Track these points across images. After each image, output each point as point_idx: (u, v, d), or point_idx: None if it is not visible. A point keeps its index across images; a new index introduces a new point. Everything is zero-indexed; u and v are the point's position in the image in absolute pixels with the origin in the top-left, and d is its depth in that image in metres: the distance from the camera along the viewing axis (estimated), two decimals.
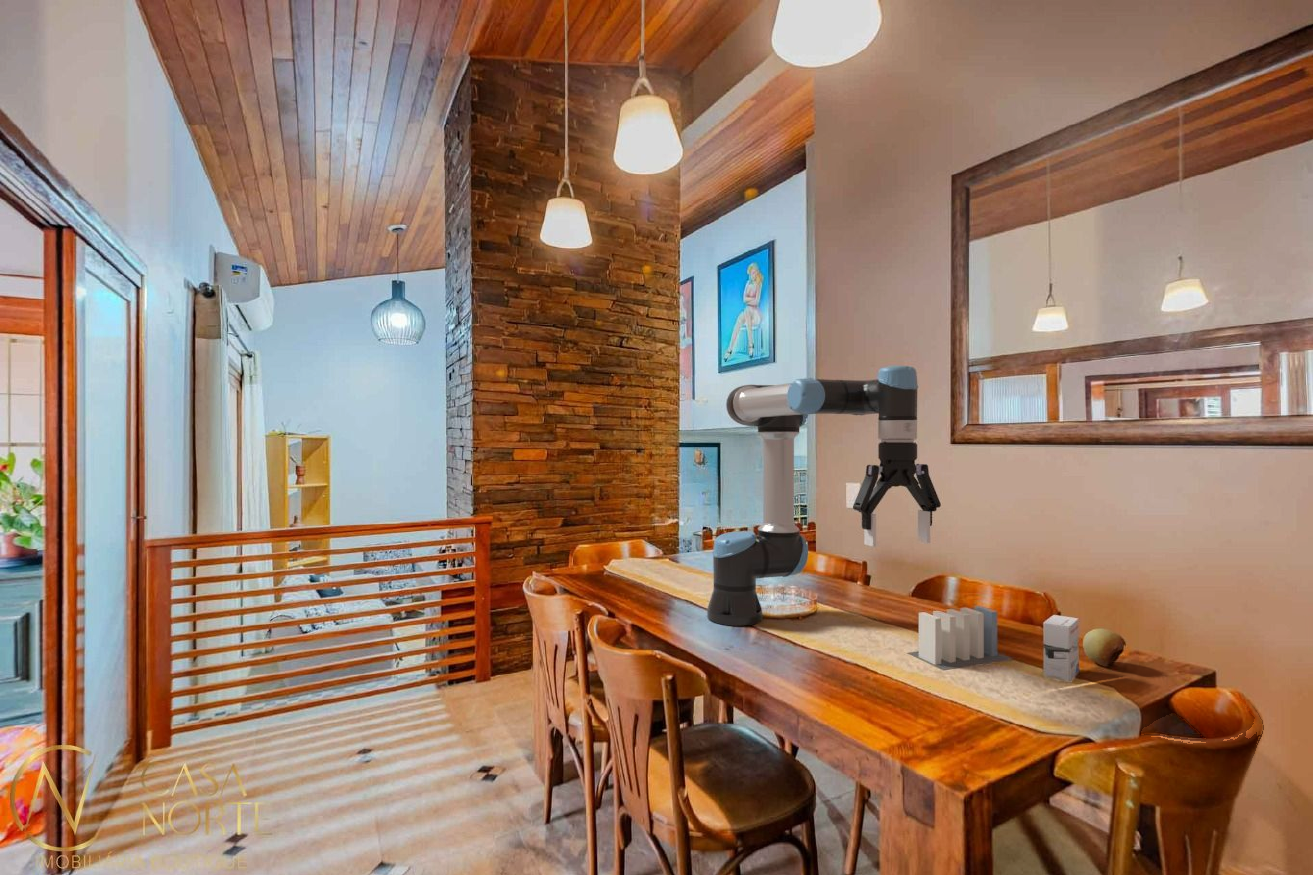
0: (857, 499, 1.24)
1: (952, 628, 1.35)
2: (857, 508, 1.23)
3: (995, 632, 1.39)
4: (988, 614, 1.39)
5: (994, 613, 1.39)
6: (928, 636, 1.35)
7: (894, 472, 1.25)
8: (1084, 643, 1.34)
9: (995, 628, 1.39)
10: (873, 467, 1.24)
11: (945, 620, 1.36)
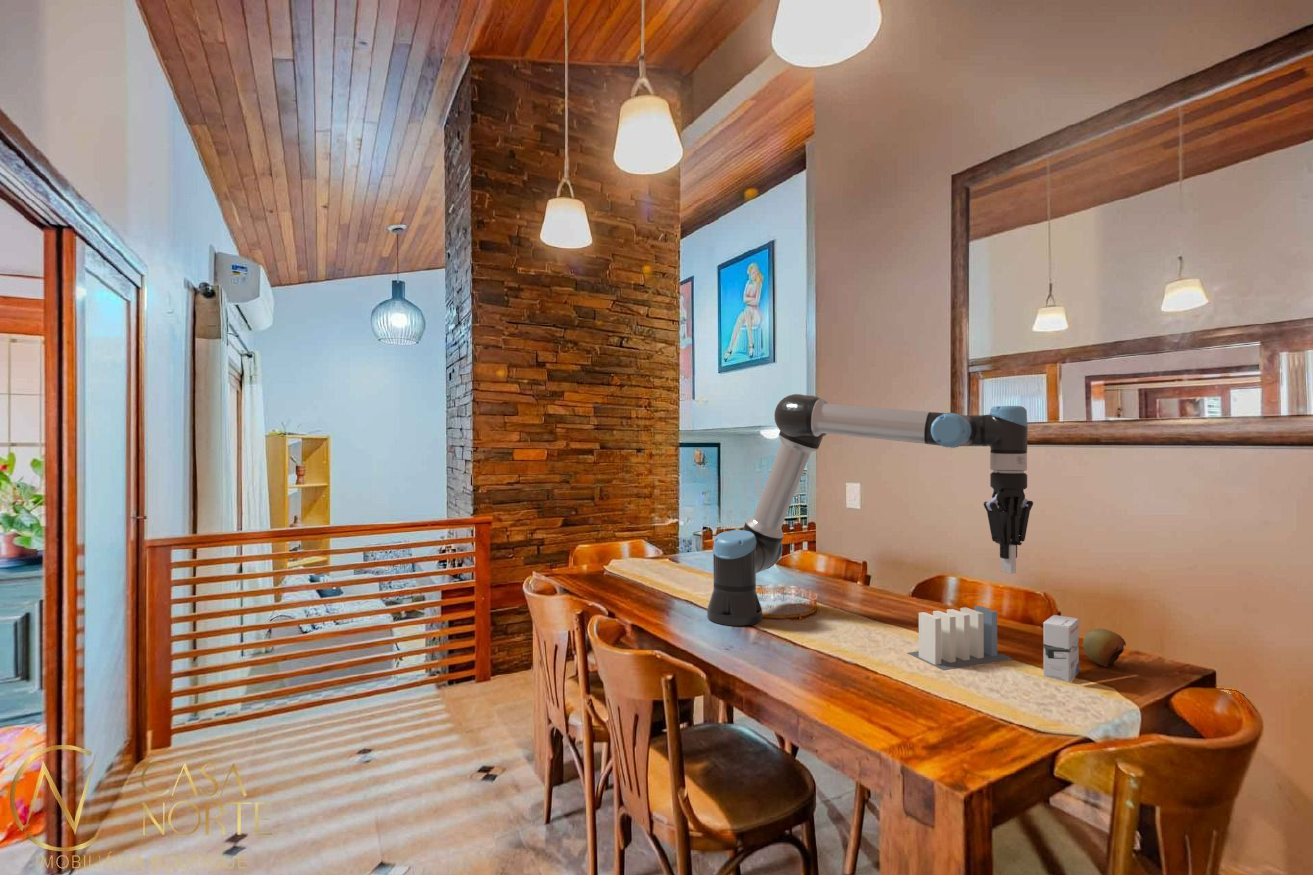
0: (993, 534, 1.42)
1: (952, 628, 1.35)
2: (997, 540, 1.42)
3: (995, 632, 1.39)
4: (988, 614, 1.39)
5: (994, 613, 1.39)
6: (928, 636, 1.35)
7: (1007, 501, 1.41)
8: (1084, 643, 1.34)
9: (995, 628, 1.39)
10: (991, 506, 1.40)
11: (945, 620, 1.36)
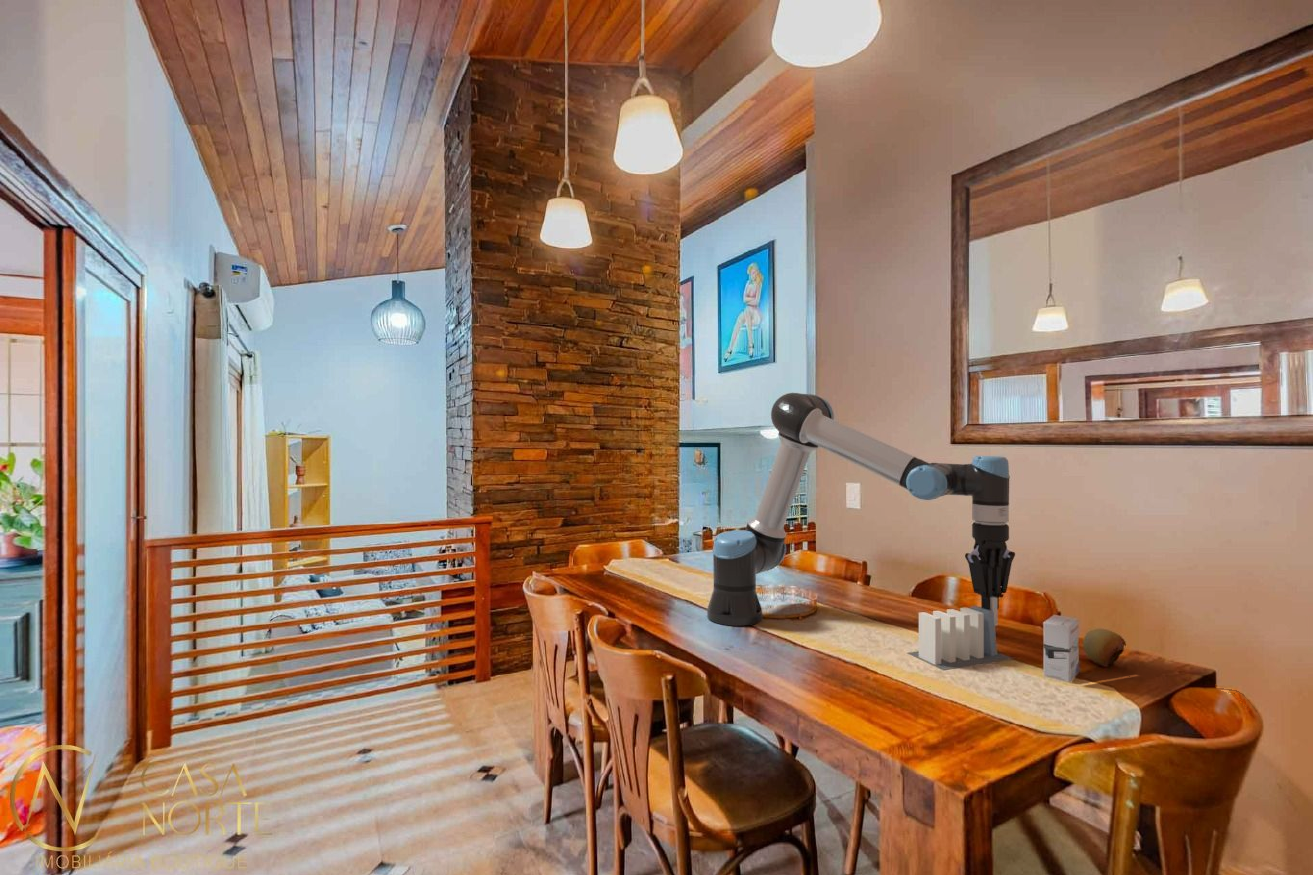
0: (974, 585, 1.41)
1: (952, 628, 1.35)
2: (978, 592, 1.40)
3: (992, 631, 1.38)
4: (984, 615, 1.39)
5: (990, 613, 1.38)
6: (928, 636, 1.35)
7: (989, 553, 1.40)
8: (1084, 643, 1.34)
9: (993, 628, 1.38)
10: (972, 558, 1.39)
11: (945, 620, 1.36)
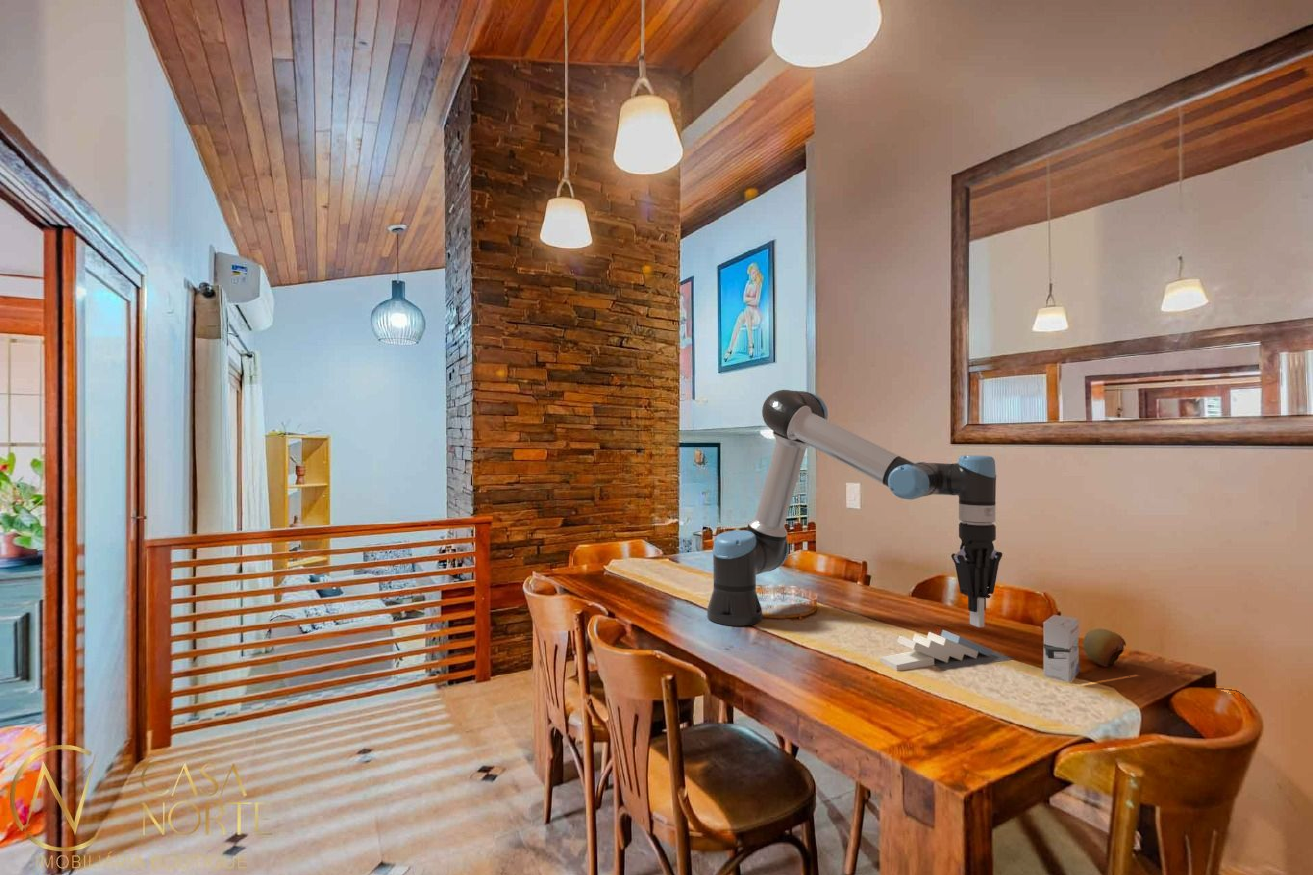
0: (961, 586, 1.39)
1: (923, 649, 1.32)
2: (965, 593, 1.39)
3: (973, 645, 1.37)
4: None
5: (959, 640, 1.35)
6: None
7: (975, 554, 1.38)
8: (1084, 643, 1.34)
9: (971, 643, 1.36)
10: (959, 559, 1.37)
11: None
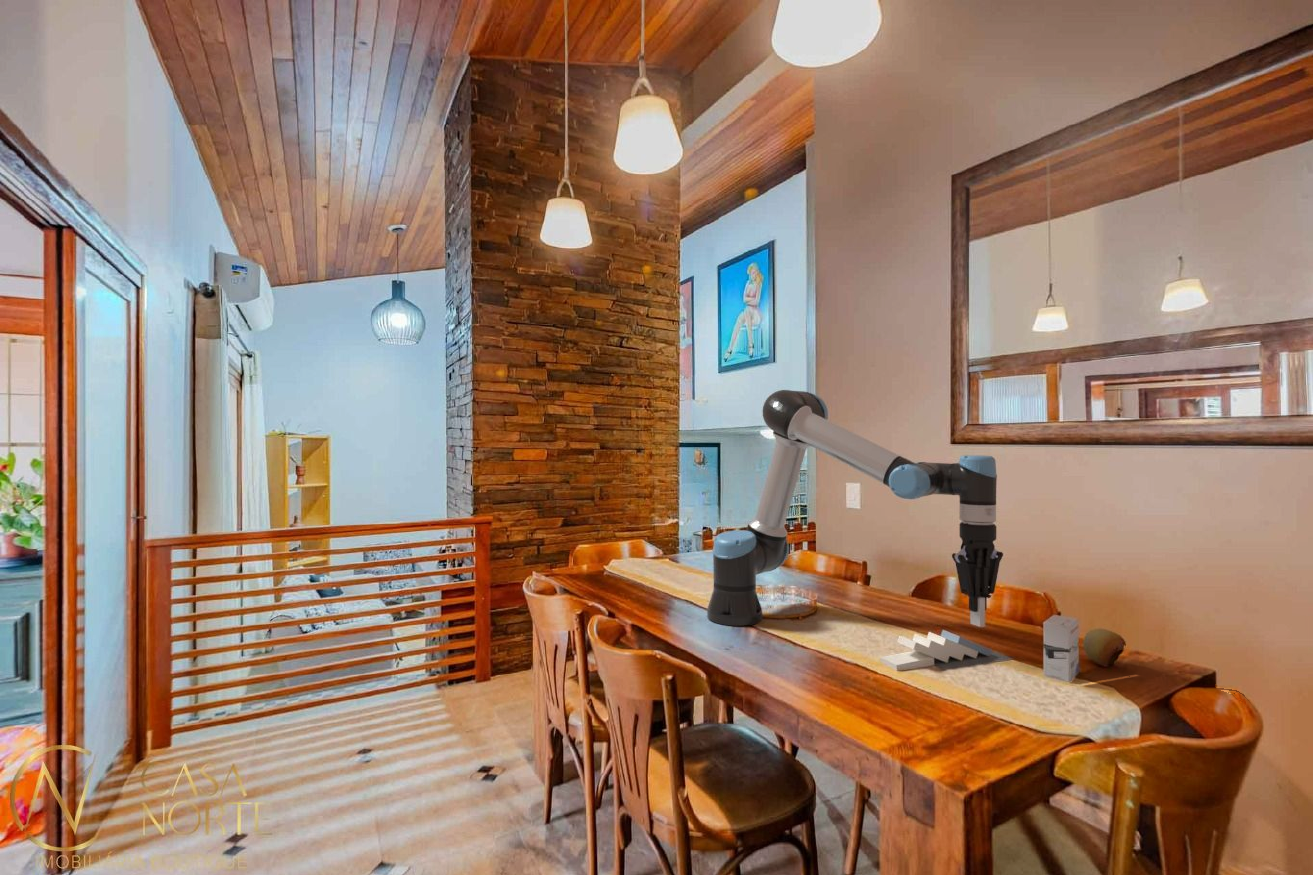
0: (961, 586, 1.39)
1: (923, 649, 1.32)
2: (966, 593, 1.39)
3: (973, 645, 1.37)
4: None
5: (959, 640, 1.35)
6: None
7: (976, 553, 1.38)
8: (1084, 643, 1.34)
9: (971, 643, 1.36)
10: (959, 558, 1.37)
11: None
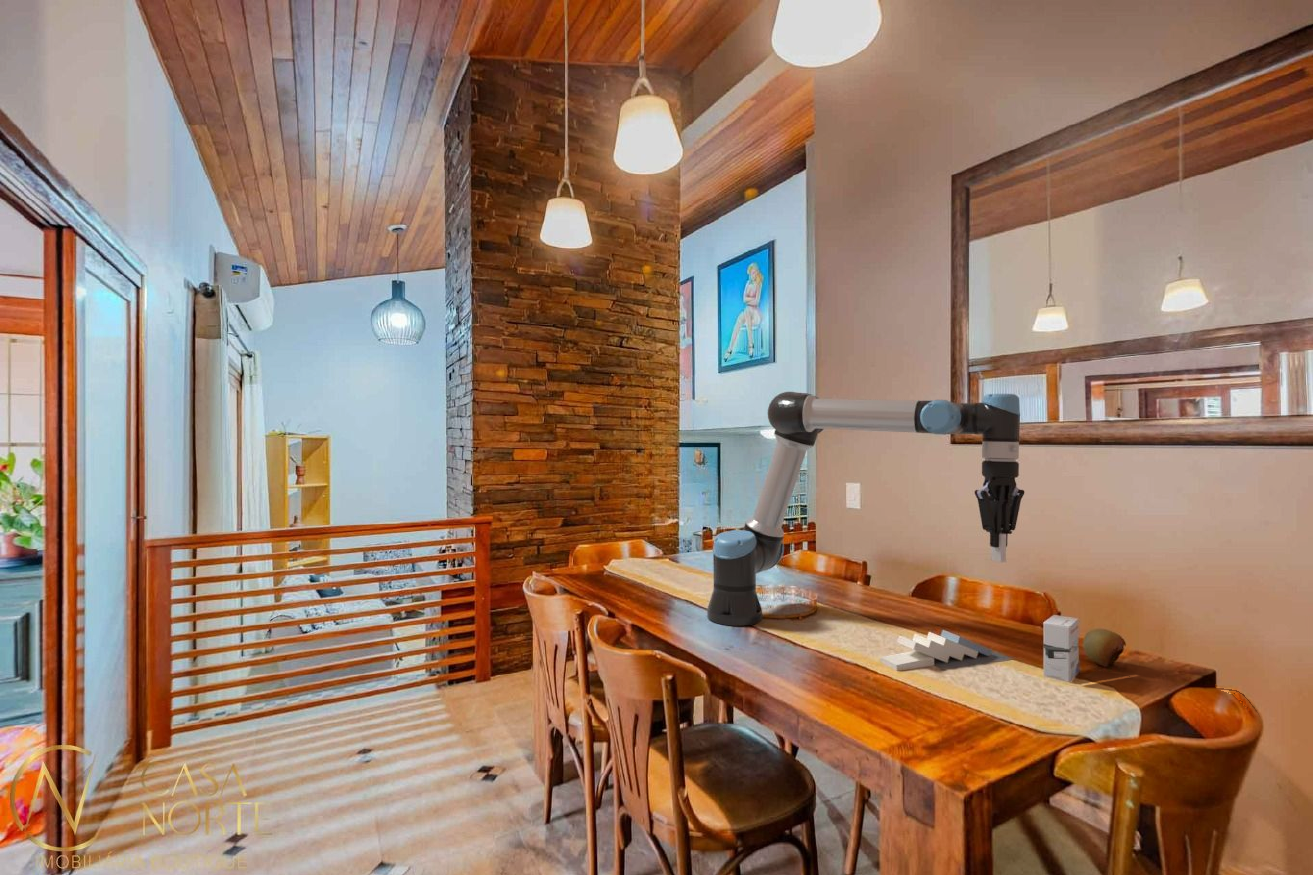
0: (983, 522, 1.42)
1: (923, 649, 1.32)
2: (987, 528, 1.41)
3: (973, 645, 1.37)
4: None
5: (959, 640, 1.35)
6: None
7: (998, 490, 1.40)
8: (1084, 643, 1.34)
9: (971, 643, 1.36)
10: (982, 494, 1.40)
11: None
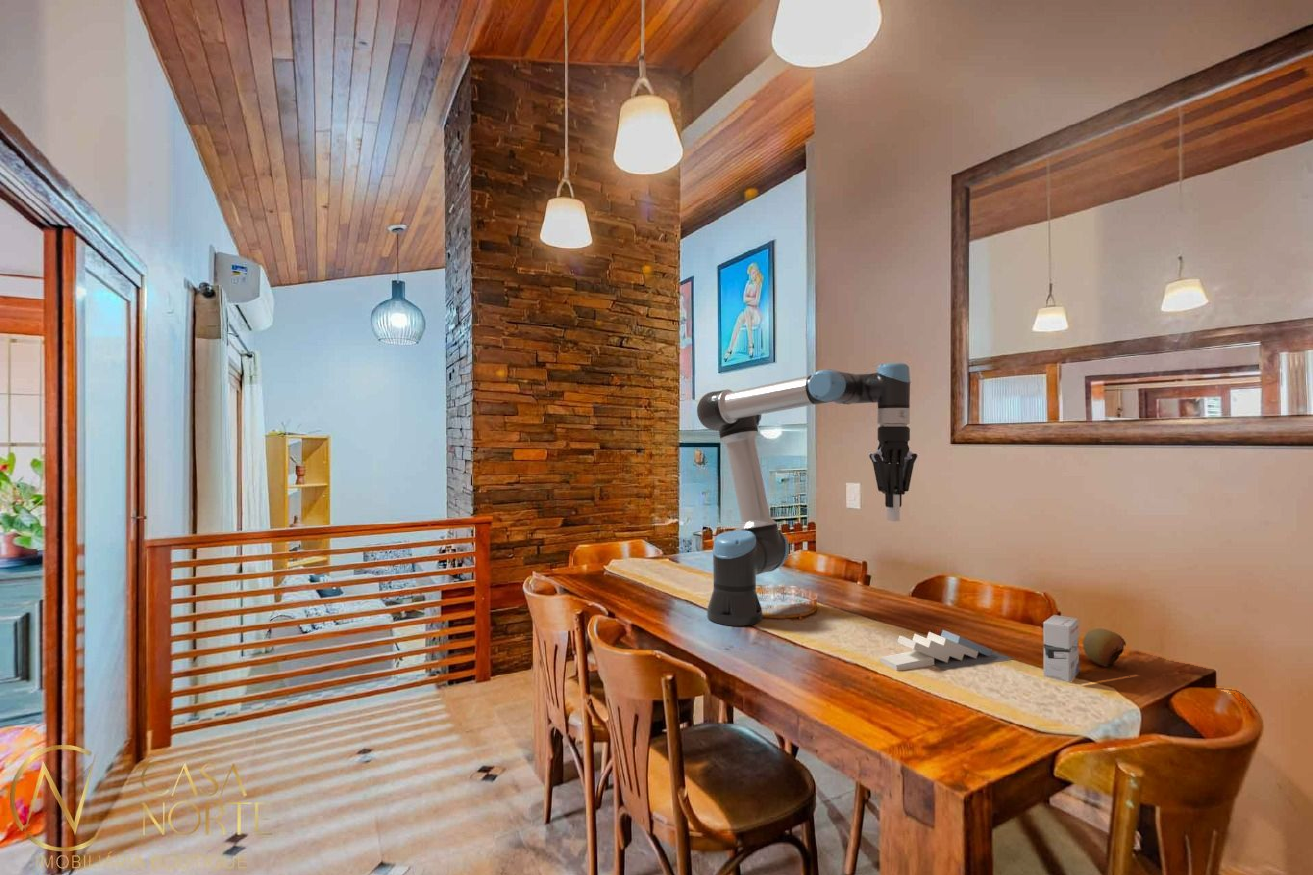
0: (878, 484, 1.51)
1: (923, 649, 1.32)
2: (882, 490, 1.51)
3: (973, 645, 1.37)
4: None
5: (959, 640, 1.35)
6: None
7: (891, 453, 1.50)
8: (1084, 643, 1.34)
9: (971, 643, 1.36)
10: (875, 457, 1.49)
11: None
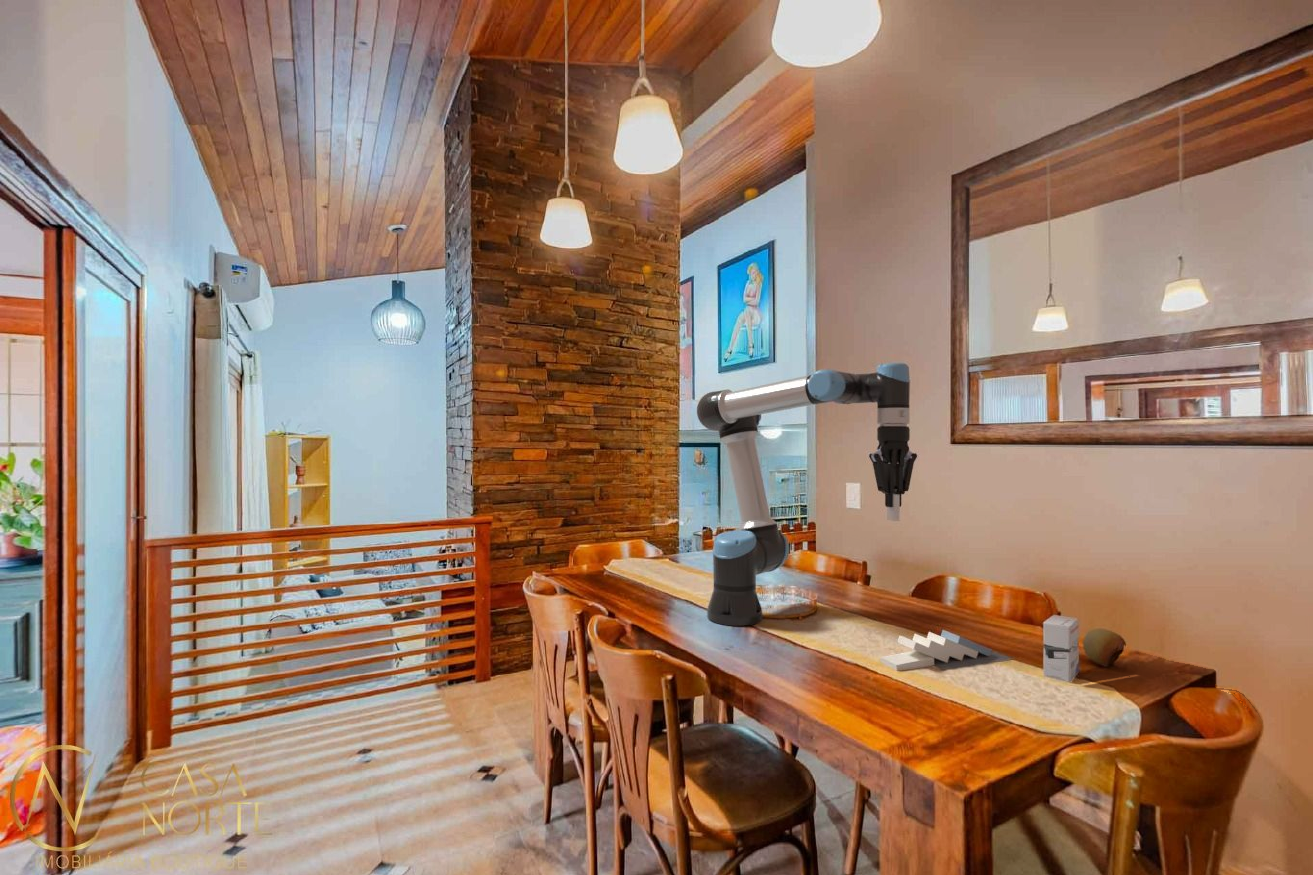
0: (878, 483, 1.51)
1: (923, 649, 1.32)
2: (881, 489, 1.51)
3: (973, 645, 1.37)
4: None
5: (959, 640, 1.35)
6: None
7: (891, 453, 1.50)
8: (1084, 643, 1.34)
9: (971, 643, 1.36)
10: (875, 457, 1.49)
11: None
